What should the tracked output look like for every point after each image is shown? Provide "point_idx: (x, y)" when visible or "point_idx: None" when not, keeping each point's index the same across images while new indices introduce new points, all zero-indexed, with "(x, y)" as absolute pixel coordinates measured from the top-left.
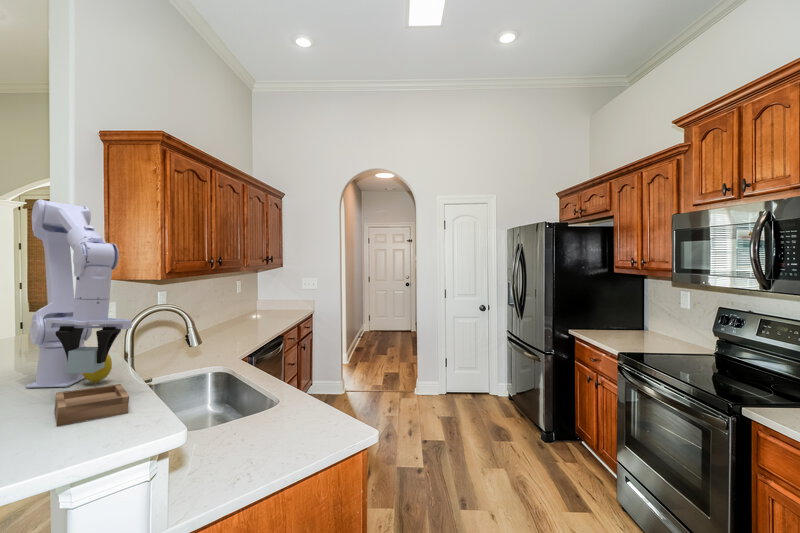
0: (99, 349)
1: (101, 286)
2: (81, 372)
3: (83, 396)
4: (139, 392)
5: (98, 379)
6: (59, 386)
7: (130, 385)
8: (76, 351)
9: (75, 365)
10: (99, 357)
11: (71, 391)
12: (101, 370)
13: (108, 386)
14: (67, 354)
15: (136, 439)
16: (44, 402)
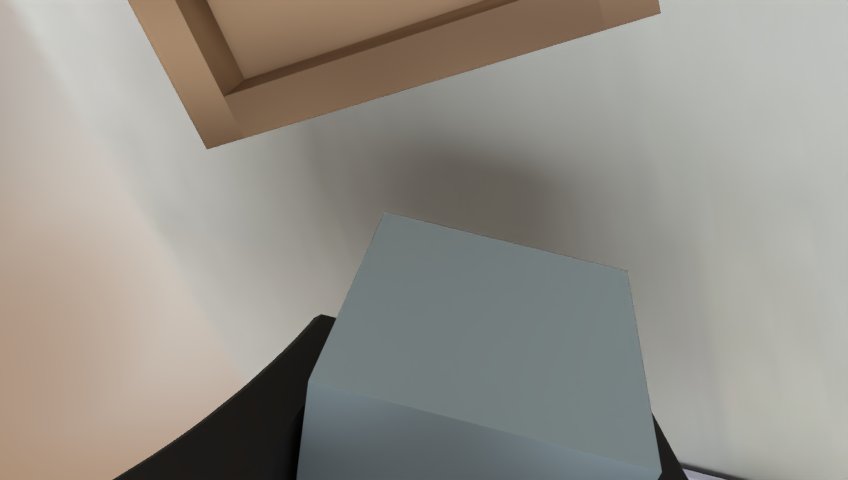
0: (261, 422)
1: None
2: (490, 241)
3: (441, 2)
4: (184, 213)
5: None
6: (690, 471)
7: None
8: (554, 440)
9: (551, 302)
10: (302, 350)
11: (532, 12)
12: None
13: (270, 90)
14: (670, 472)
15: None
16: (733, 194)
